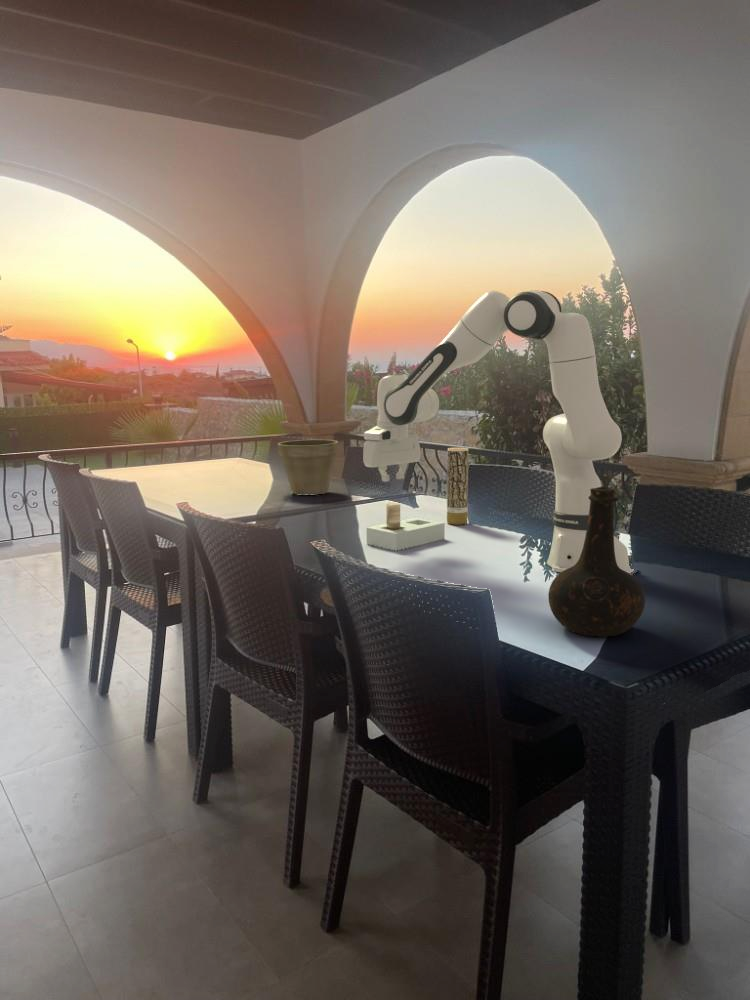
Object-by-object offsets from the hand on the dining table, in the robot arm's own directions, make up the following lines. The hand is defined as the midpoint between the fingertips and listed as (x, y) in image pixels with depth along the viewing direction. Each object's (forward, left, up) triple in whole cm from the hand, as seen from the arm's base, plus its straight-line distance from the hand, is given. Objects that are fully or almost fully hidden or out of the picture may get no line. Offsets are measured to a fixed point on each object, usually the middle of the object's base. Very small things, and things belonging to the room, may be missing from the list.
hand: (392, 480), depth 210 cm
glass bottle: (-78, +23, -19) cm, 84 cm away
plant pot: (+90, -42, -19) cm, 101 cm away
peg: (0, 0, -19) cm, 19 cm away
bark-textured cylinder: (+6, -37, -19) cm, 42 cm away
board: (0, -6, -19) cm, 20 cm away
